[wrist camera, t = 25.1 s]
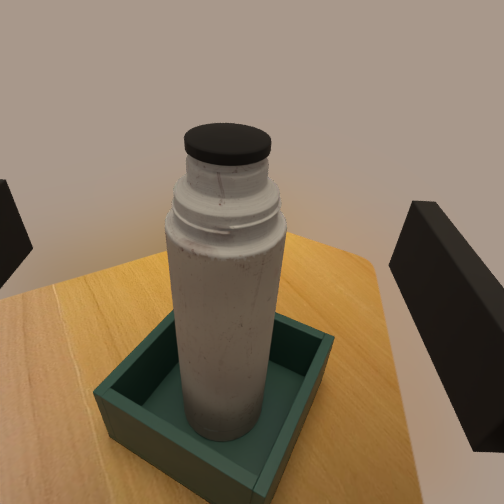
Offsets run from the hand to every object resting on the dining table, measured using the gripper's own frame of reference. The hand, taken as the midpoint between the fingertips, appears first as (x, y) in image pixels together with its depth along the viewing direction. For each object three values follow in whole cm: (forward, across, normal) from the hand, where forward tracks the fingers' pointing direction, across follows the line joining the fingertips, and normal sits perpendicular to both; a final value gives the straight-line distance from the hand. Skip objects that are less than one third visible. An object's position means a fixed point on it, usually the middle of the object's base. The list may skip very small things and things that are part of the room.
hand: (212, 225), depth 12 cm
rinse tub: (+10, 0, -29) cm, 31 cm away
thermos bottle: (+10, 0, -28) cm, 30 cm away
